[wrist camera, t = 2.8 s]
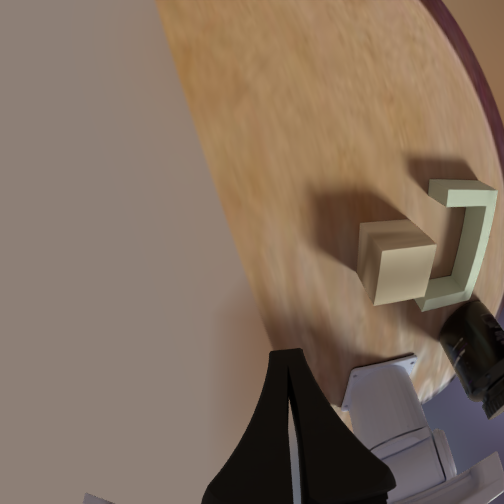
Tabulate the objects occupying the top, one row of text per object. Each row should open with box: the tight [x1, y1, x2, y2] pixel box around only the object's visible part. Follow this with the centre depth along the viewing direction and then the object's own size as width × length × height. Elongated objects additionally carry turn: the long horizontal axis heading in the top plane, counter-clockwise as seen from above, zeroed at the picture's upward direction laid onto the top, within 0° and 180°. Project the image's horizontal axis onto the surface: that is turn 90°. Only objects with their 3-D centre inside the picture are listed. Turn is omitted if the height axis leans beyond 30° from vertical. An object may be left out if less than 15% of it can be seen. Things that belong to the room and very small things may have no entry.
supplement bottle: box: [440, 301, 504, 420], centre depth 18 cm, size 7×7×12 cm
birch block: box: [356, 219, 437, 306], centre depth 17 cm, size 4×4×4 cm
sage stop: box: [414, 179, 498, 312], centre depth 17 cm, size 10×6×2 cm, turn 7°
